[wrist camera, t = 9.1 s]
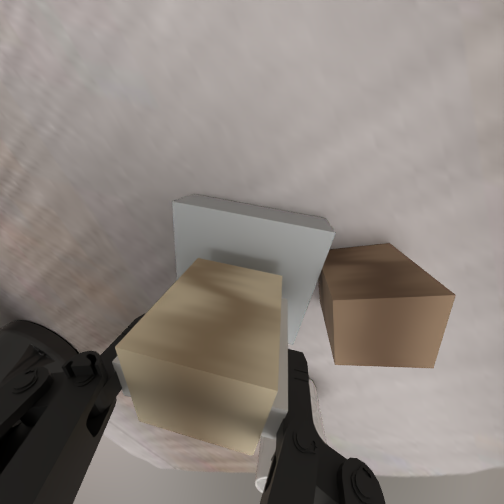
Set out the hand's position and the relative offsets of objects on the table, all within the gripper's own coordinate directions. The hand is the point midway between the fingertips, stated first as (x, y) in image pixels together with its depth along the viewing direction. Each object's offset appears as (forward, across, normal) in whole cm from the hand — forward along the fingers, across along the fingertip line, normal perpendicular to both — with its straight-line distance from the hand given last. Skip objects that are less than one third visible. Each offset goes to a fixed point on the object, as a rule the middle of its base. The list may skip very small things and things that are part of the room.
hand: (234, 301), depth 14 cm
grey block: (+6, 0, 0) cm, 6 cm away
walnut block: (+6, +10, +1) cm, 12 cm away
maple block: (0, 0, 0) cm, 0 cm away
